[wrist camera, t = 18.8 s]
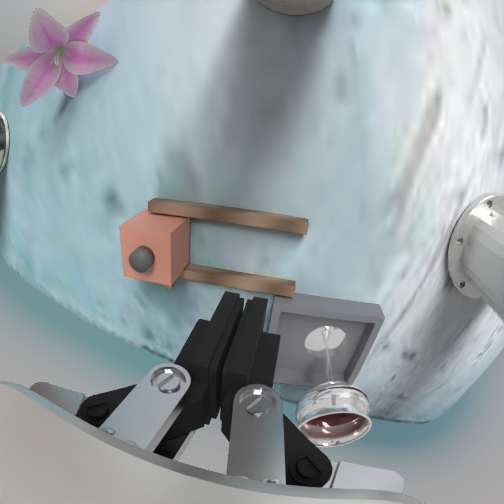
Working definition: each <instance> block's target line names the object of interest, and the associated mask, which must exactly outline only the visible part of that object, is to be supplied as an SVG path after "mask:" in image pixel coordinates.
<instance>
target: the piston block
mask: <svg viewBox="0 0 504 504" xmlns="http://www.w3.org/2000/svg"><path fill="white" fill-rule="evenodd" d="M119 227H120V242H121V254H122V264H123V273H124V276H126V277H131V278H135V279H140V280H144V281H149V282H154V283H158V284H163V285H168V286H172V285H173V283H174V282H175V280H176V279H177V278H178V276H179V275H180V274H181V272H182V271H183V269H184V268H185V267H186V265H187V264H188V263H189V241H190V217H185V216H177V215H169V214H162V213H154V212H148V210H144V211H143V212H141V213H139V214H138V215H136V216H134V217H133V218H131V219H130V220H128V221H126V222H125V223H123V224H122V225H120V226H119Z"/></svg>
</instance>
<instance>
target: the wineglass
mask: <svg viewBox="0 0 504 504" xmlns="http://www.w3.org/2000/svg"><path fill="white" fill-rule="evenodd" d="M346 344H347V337H346V334H345V333H344V332H343V331H342V330H341V329H339V328H337V327H332V326H325V327H320V328H317V329H315V330H314V331H312V332H311V333H310V334H309V335H308V336H307V337H306V340H305V348H306V350H307V351H308V352H309V353H310V354H311V355H313V356H315V357H320V358H326V381H325V382H322V383H320V384H318V385H316V386H314V387H313V388H311V389H309V390H308V391H307V392H306V393H305V394H303V396H302V398H301V399H300V401H299V403H298V405H297V408H296V422H297V424H298V427H297V428H298V429H299V430H300V431H301V432H302V433H303V434H304V435H305V436H306V437H307V438H308V439H309V440H310V441H311V442H312V443H313V444H314V445H315V446H316V447H336V446H341V445H345V444H348V443H351V442H354V441H356V440H358V439H360V438H361V437H363V436H364V435H365V434H366V433H367V432H368V431H369V430H370V428H371V426H372V422H371V419H370V418H369V417H368V414H369V409H370V406H369V402H368V398H367V396H366V394H365V393H364V392H363V391H362V390H361V389H360V388H359V387H358V386H357V385H354V384H352V383H349V382H346V381H342V380H334V378H333V372H332V366H331V360H330V357H332V356H335V355H337V354H338V353H340V352H341V351H342V350H343V349H344V348H345V346H346Z"/></svg>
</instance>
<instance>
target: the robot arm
mask: <svg viewBox="0 0 504 504" xmlns="http://www.w3.org/2000/svg"><path fill="white" fill-rule="evenodd" d="M447 262H448V271H449V275H450V278H451V280H452V282H453V284H454V286H455V287H456V288H457V289H458V291H460V292H461V293H462V294H463V295H465V296H467V297H470V298H480V297H482V298H483V299H484V300H485V301H486V302H487V304H488V305H489V306H490V307H491V308H492V309H493V311H494V312H495V313H496V314H497V315H498V317H499V318H500V319H501V320H502V322H503V323H504V195H501V194H497V193H491V194H486V195H484V196H481V197H479V198H478V199H477V200H475V201H474V202H473V203H471V204H470V206H469V207H468V208H467V209H466V210H465V211H464V213H463V214H462V216H461V217H460V219H459V220H458V223H457V225H456V227H455V229H454V231H453V234H452V237H451V240H450V244H449V249H448V259H447ZM267 302H268V299H265V298H259V297H254V298H253V300H250V299H248V300H247V303H246V306H245V308H244V311H243V306H244V298H240V295H239V294H238V293H232V292H227V291H225V293H224V295H223V297H222V299H221V301H220V303H219V305H218V306H217V308H216V310H215V312H214V314H213V316H212V318H211V320H210V321H207V320H203V319H199V320H198V322H197V323H196V325H195V327H194V329H193V330H192V332H191V334H190V336H189V337H188V339H187V341H186V343H185V345H184V346H183V348H182V350H181V352H180V354H179V355H178V357H177V359H176V361H175V363H174V364H171V363H165V364H159V365H157V366H155V367H153V368H152V369H151V370H150V371H149V372H148V373H147V374H146V375H145V376H144V378H143V379H142V380H141V381H140V382H139V383H138V384H136V385H132V386H128V387H125V388H121V389H117V390H113V391H110V392H105V393H101V394H97V395H93V396H90V397H85V395H84V394H83V393H79V392H75V391H72V390H68V389H65V388H61V387H58V386H55V385H52V384H49V383H46V382H38V383H35V384H34V385H32V386H31V387H30V388H29V389H28V388H26V387H24V386H21V385H19V384H15V383H12V382H8V381H1V380H0V504H425V503H423V502H422V501H420V500H418V499H415V498H413V497H411V496H407V495H404V494H403V490H404V481H403V479H402V477H401V476H400V475H399V474H398V473H397V472H394V471H392V470H385V469H380V468H373V467H368V466H363V465H358V464H353V463H349V462H344V461H340V462H339V463H338V462H334V461H330V460H329V459H328V457H327V456H326V455H325V454H324V453H322V451H320V450H319V449H318V448H317V447H316V446H315V445H314V444H313V443H312V442H311V441H310V440H309V439H308V438H307V437H306V436H305V435H304V434H303V433H302V432H301V431H300V430H299V429H298V428H297V427H296V426H295V425H294V424H293V423H292V422H291V421H290V420H289V419H288V418H287V417H286V416H285V415H284V414H283V407H282V400H281V397H280V396H279V394H278V393H277V392H276V391H275V390H274V389H272V386H273V380H274V374H275V368H276V363H277V356H278V350H279V344H280V338H281V335H278V334H272V333H267V332H263V327H264V321H265V315H266V308H267ZM220 407H221V412H220V420H222V428H221V431H222V433H223V434H224V435H225V436H226V438H227V439H228V441H229V442H230V444H229V454H228V464H227V475H225V474H221V473H217V472H213V471H209V470H205V469H201V468H198V467H194V466H190V465H187V464H184V463H181V462H178V459H179V458H180V456H181V455H182V453H183V451H184V450H185V448H186V447H187V445H188V444H189V442H190V440H191V439H192V437H193V435H194V433H195V430H196V429H199V428H201V427H204V424H207V425H209V423H210V420H211V418H214V419H216V418H217V416H218V413H219V410H220Z"/></svg>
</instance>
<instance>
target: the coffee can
mask: <svg viewBox="0 0 504 504" xmlns="http://www.w3.org/2000/svg"><path fill="white" fill-rule="evenodd" d="M8 151H9V127H8V122H7V119H6V117H5V115H4V114H3V113H2V112H0V172H1V171H2V170H3V168H4V166H5V163H6V160H7V156H8Z"/></svg>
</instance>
